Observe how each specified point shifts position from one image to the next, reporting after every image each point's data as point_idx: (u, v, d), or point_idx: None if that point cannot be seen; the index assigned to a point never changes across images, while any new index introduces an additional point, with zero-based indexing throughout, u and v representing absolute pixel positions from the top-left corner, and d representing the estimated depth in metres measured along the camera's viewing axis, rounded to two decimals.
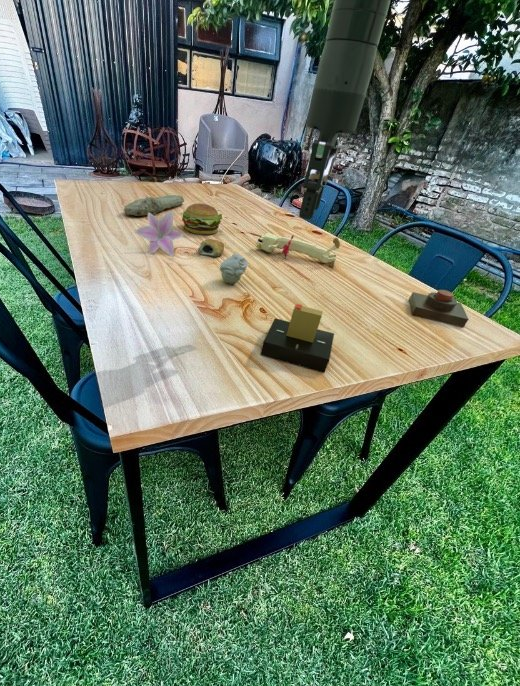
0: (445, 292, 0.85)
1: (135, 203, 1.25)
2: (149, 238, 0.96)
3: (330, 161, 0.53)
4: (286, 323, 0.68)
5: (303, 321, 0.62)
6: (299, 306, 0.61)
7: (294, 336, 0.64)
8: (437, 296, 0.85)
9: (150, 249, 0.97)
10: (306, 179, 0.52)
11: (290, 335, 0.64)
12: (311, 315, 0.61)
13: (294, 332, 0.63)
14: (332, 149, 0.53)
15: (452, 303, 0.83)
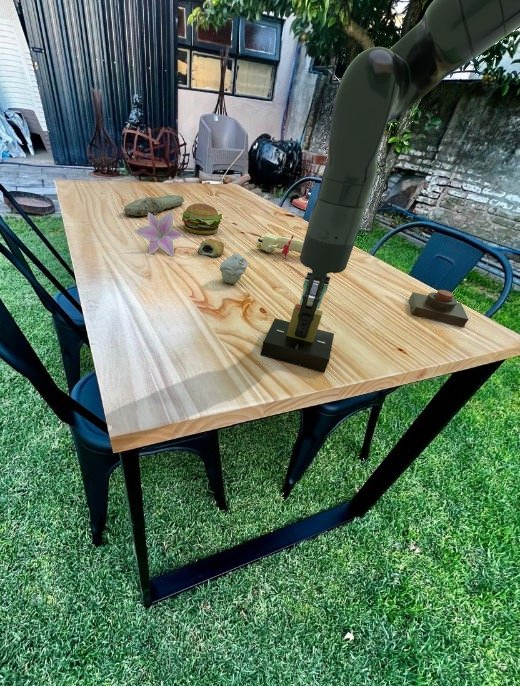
0: (445, 292, 0.85)
1: (135, 203, 1.25)
2: (149, 238, 0.96)
3: (321, 296, 0.57)
4: (286, 323, 0.68)
5: None
6: (299, 306, 0.61)
7: (294, 336, 0.64)
8: (437, 296, 0.85)
9: (150, 249, 0.97)
10: (299, 316, 0.58)
11: (290, 335, 0.64)
12: None
13: (294, 332, 0.63)
14: (324, 283, 0.56)
15: (452, 303, 0.83)
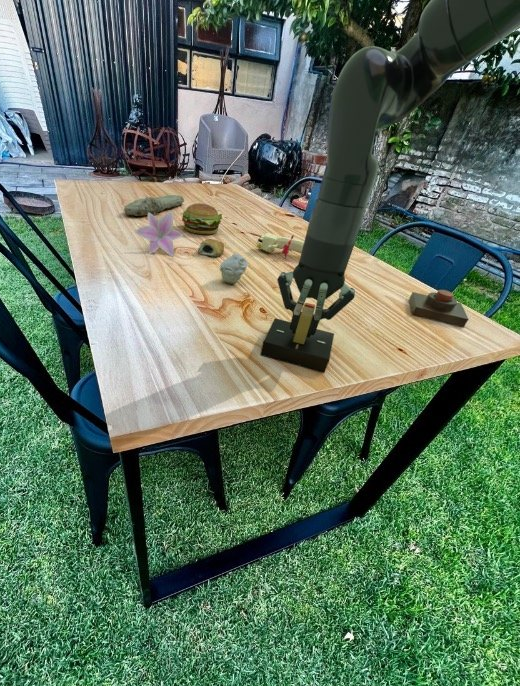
0: (445, 292, 0.85)
1: (135, 203, 1.25)
2: (149, 238, 0.96)
3: (301, 290, 0.58)
4: (286, 323, 0.68)
5: None
6: (309, 304, 0.62)
7: None
8: (437, 296, 0.85)
9: (150, 249, 0.97)
10: None
11: None
12: None
13: None
14: (306, 278, 0.57)
15: (452, 303, 0.83)
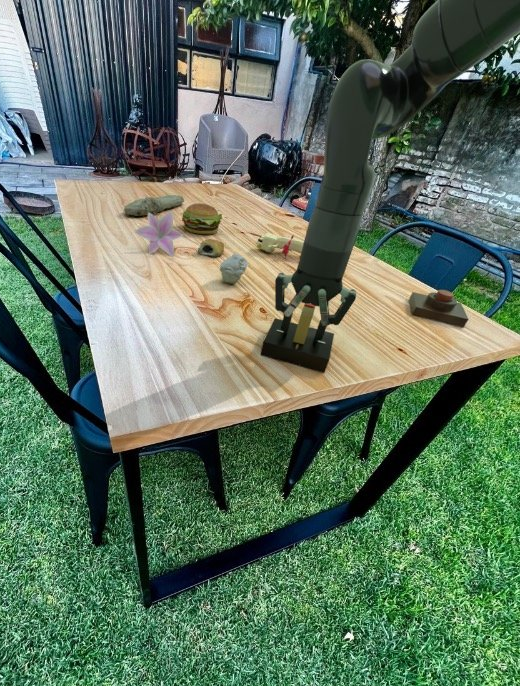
0: (445, 292, 0.85)
1: (135, 203, 1.25)
2: (149, 238, 0.96)
3: (297, 294, 0.58)
4: None
5: None
6: (309, 304, 0.62)
7: None
8: (437, 296, 0.85)
9: (150, 249, 0.97)
10: None
11: None
12: None
13: None
14: (304, 284, 0.57)
15: (452, 303, 0.83)
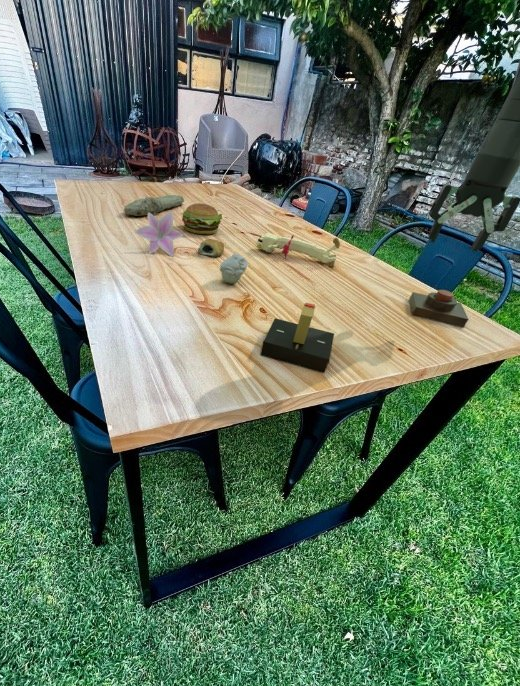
0: (445, 292, 0.85)
1: (135, 203, 1.25)
2: (149, 238, 0.96)
3: (461, 203, 0.68)
4: (286, 323, 0.68)
5: None
6: (309, 304, 0.62)
7: None
8: (437, 296, 0.85)
9: (150, 249, 0.97)
10: (430, 209, 0.72)
11: None
12: None
13: None
14: (470, 195, 0.67)
15: (452, 303, 0.83)
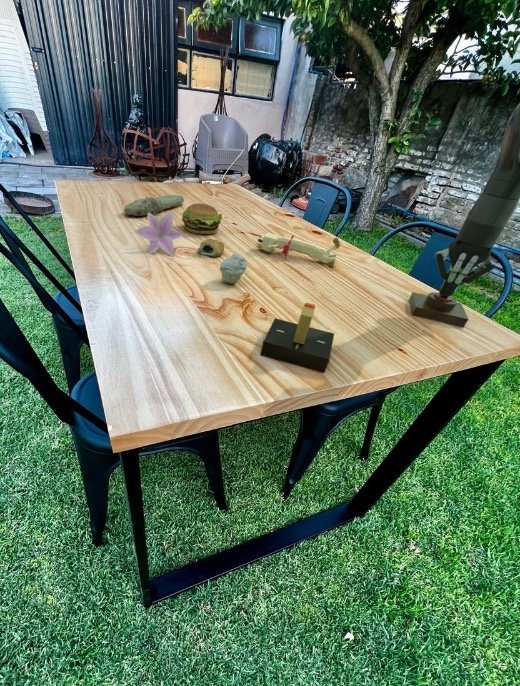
0: None
1: (135, 203, 1.25)
2: (149, 238, 0.96)
3: (455, 262, 0.79)
4: (286, 323, 0.68)
5: None
6: (309, 304, 0.62)
7: None
8: None
9: (150, 249, 0.97)
10: (439, 271, 0.83)
11: None
12: None
13: None
14: (460, 252, 0.77)
15: (452, 303, 0.83)
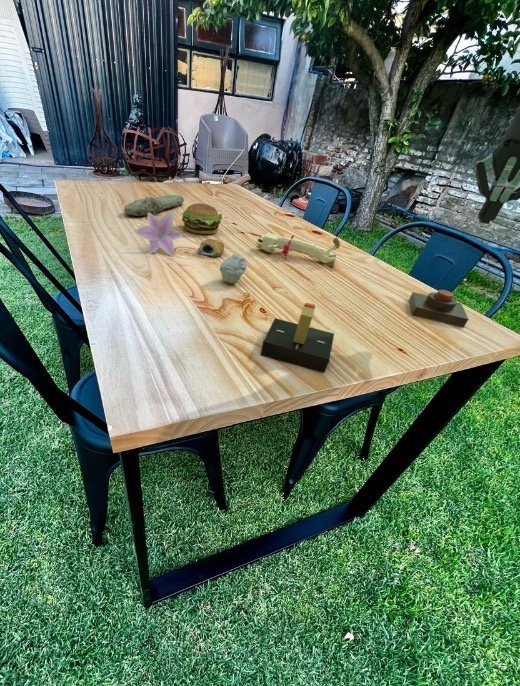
0: (445, 292, 0.85)
1: (135, 203, 1.25)
2: (149, 238, 0.96)
3: (502, 172, 0.62)
4: (286, 323, 0.68)
5: None
6: (309, 304, 0.62)
7: None
8: (437, 296, 0.85)
9: (150, 249, 0.97)
10: None
11: None
12: None
13: None
14: (509, 157, 0.61)
15: (452, 303, 0.83)
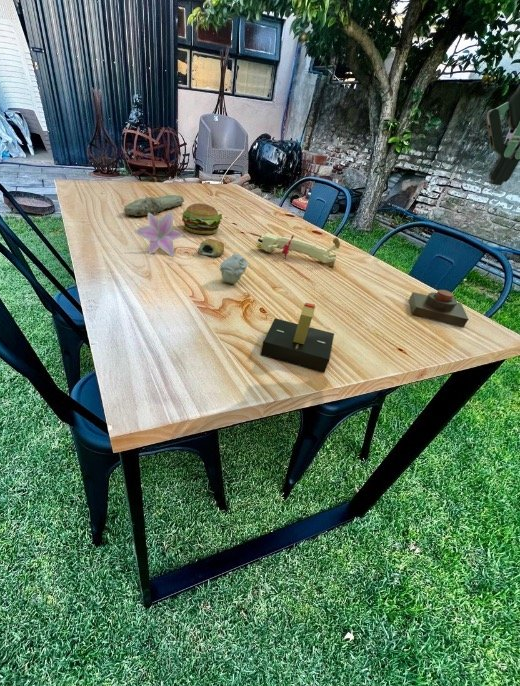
0: (445, 292, 0.85)
1: (135, 203, 1.25)
2: (149, 238, 0.96)
3: (519, 121, 0.53)
4: (286, 323, 0.68)
5: None
6: (309, 304, 0.62)
7: None
8: (437, 296, 0.85)
9: (150, 249, 0.97)
10: (490, 144, 0.58)
11: None
12: None
13: None
14: None
15: (452, 303, 0.83)
